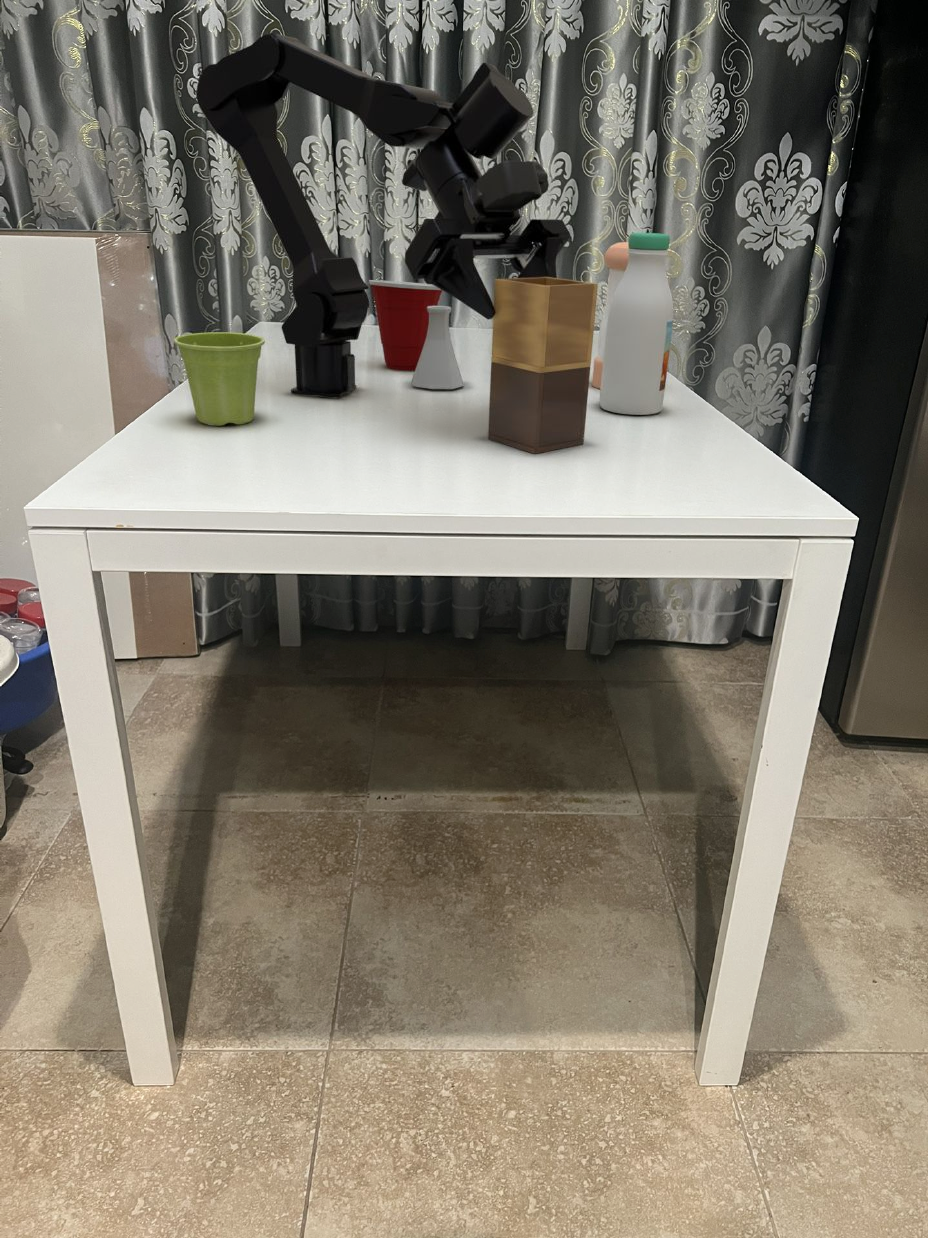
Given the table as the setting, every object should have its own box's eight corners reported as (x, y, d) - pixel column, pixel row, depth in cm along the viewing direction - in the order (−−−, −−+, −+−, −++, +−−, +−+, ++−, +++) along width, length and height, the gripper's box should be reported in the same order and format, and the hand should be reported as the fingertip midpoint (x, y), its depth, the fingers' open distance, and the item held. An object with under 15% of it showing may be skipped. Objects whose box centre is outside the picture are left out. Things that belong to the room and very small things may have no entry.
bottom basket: (487, 438, 96) (490, 361, 93) (536, 429, 101) (541, 355, 97) (534, 454, 91) (540, 373, 88) (583, 444, 96) (590, 366, 92)
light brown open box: (490, 361, 93) (494, 278, 89) (541, 355, 97) (546, 276, 94) (540, 373, 88) (545, 285, 84) (590, 366, 92) (598, 283, 89)
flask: (458, 392, 117) (460, 311, 113) (404, 388, 118) (404, 308, 114) (469, 382, 124) (472, 305, 119) (417, 378, 125) (418, 302, 120)
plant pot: (285, 415, 103) (280, 336, 99) (240, 434, 95) (234, 348, 91) (213, 407, 105) (206, 329, 102) (164, 424, 97) (155, 340, 93)
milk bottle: (648, 419, 107) (670, 235, 98) (588, 410, 110) (604, 232, 102) (671, 408, 113) (693, 234, 104) (613, 399, 116) (631, 230, 108)
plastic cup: (457, 366, 134) (460, 280, 129) (415, 377, 126) (416, 285, 120) (398, 358, 139) (398, 274, 134) (354, 367, 131) (352, 279, 126)
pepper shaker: (609, 392, 120) (625, 236, 112) (582, 382, 126) (595, 233, 118) (655, 390, 123) (674, 237, 115) (626, 379, 129) (642, 233, 121)
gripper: (423, 122, 83) (497, 260, 81) (564, 134, 94) (634, 255, 92) (375, 213, 92) (440, 339, 89) (509, 214, 103) (572, 327, 100)
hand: (525, 313), depth 92 cm, fingers open, 9 cm apart
